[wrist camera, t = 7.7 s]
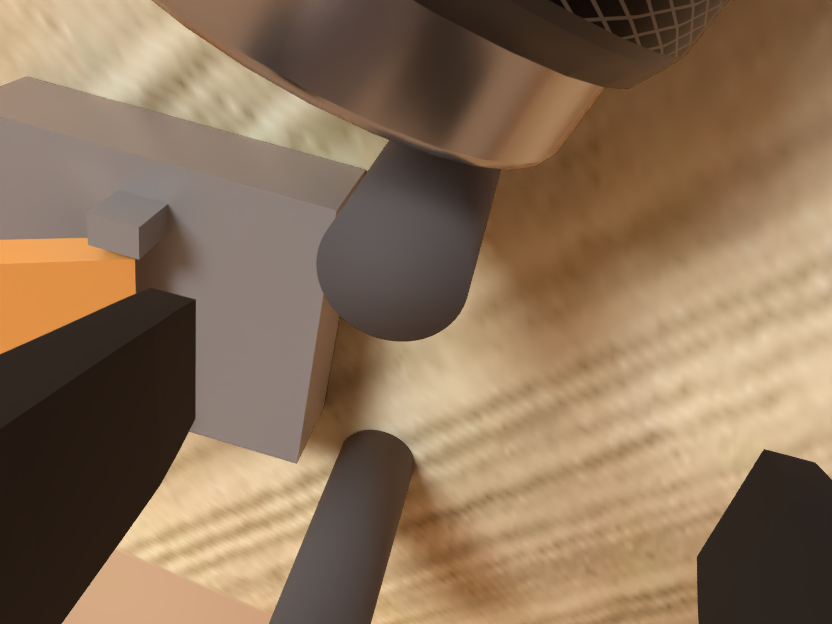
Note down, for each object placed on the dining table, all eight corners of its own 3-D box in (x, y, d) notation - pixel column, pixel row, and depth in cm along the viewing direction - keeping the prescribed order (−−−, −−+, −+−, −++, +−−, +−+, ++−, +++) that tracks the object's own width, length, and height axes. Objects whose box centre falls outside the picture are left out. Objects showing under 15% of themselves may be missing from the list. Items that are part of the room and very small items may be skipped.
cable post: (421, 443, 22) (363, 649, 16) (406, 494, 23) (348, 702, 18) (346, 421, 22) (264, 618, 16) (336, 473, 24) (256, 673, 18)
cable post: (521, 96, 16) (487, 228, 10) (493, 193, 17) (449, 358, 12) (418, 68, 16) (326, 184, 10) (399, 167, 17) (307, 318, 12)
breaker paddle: (135, 259, 16) (-100, 267, 14) (137, 384, 18) (-67, 406, 16) (130, 236, 17) (-94, 242, 15) (133, 360, 19) (-63, 378, 17)
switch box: (365, 169, 18) (318, 236, 14) (323, 407, 22) (280, 497, 19) (26, 76, 18) (-91, 121, 15) (52, 327, 23) (-35, 402, 19)
